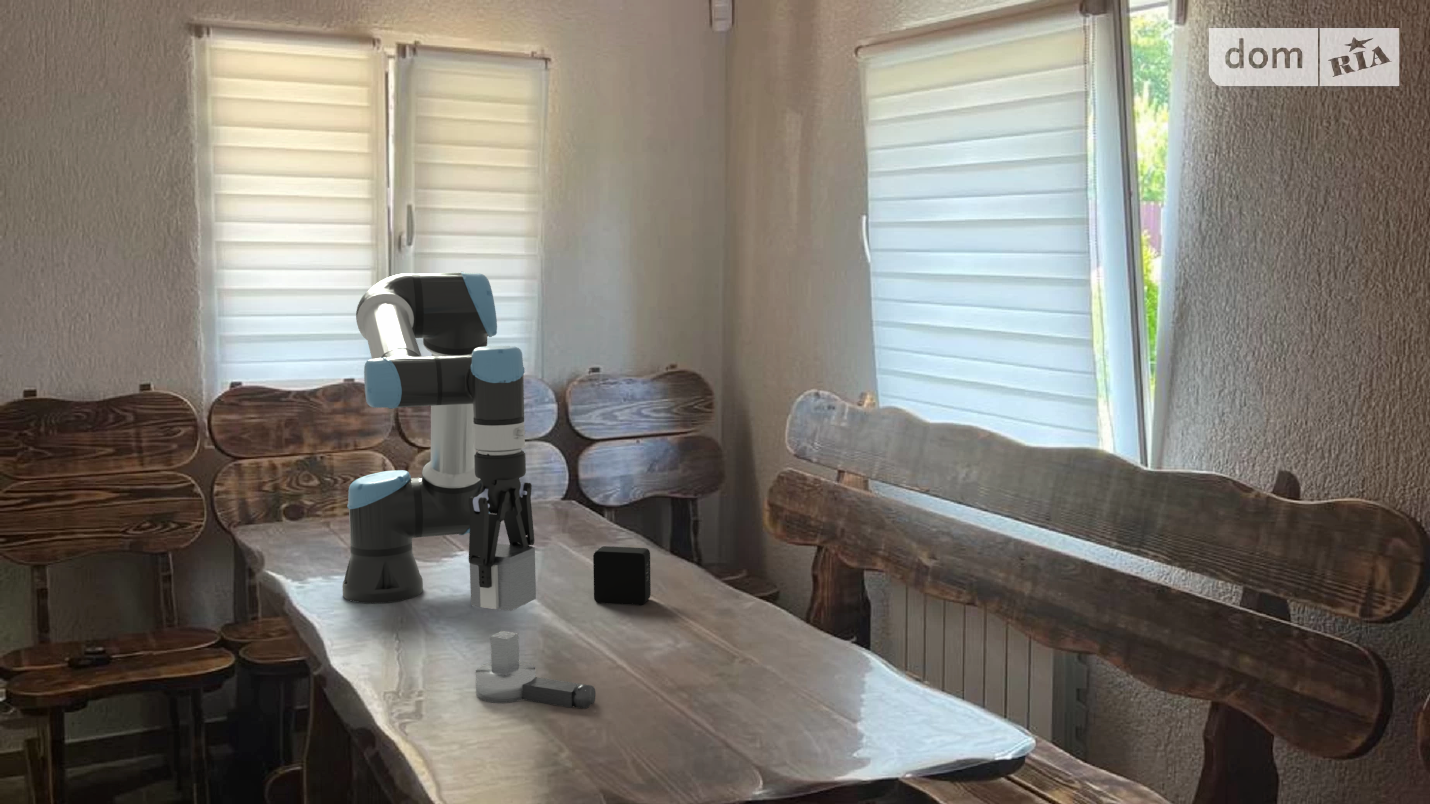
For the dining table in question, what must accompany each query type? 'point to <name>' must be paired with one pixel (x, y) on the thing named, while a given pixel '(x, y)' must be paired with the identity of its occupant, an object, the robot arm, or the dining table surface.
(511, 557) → the dark grey cube
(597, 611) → the dining table surface
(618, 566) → the electronic device
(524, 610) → the dining table surface
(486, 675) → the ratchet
